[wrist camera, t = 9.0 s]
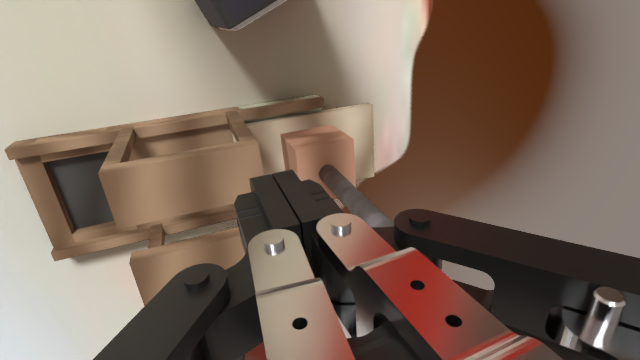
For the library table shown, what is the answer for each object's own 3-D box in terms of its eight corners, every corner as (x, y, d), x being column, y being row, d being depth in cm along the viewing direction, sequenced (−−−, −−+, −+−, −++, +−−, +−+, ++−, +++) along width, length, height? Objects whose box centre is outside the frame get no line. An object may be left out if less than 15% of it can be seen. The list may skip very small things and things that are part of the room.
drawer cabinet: (61, 248, 41) (12, 345, 29) (14, 141, 36) (-68, 204, 24) (324, 188, 49) (374, 244, 37) (316, 94, 44) (370, 123, 32)
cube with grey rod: (244, 201, 44) (285, 314, 27) (230, 126, 40) (268, 202, 24) (370, 173, 48) (473, 255, 31) (368, 102, 45) (484, 152, 28)
